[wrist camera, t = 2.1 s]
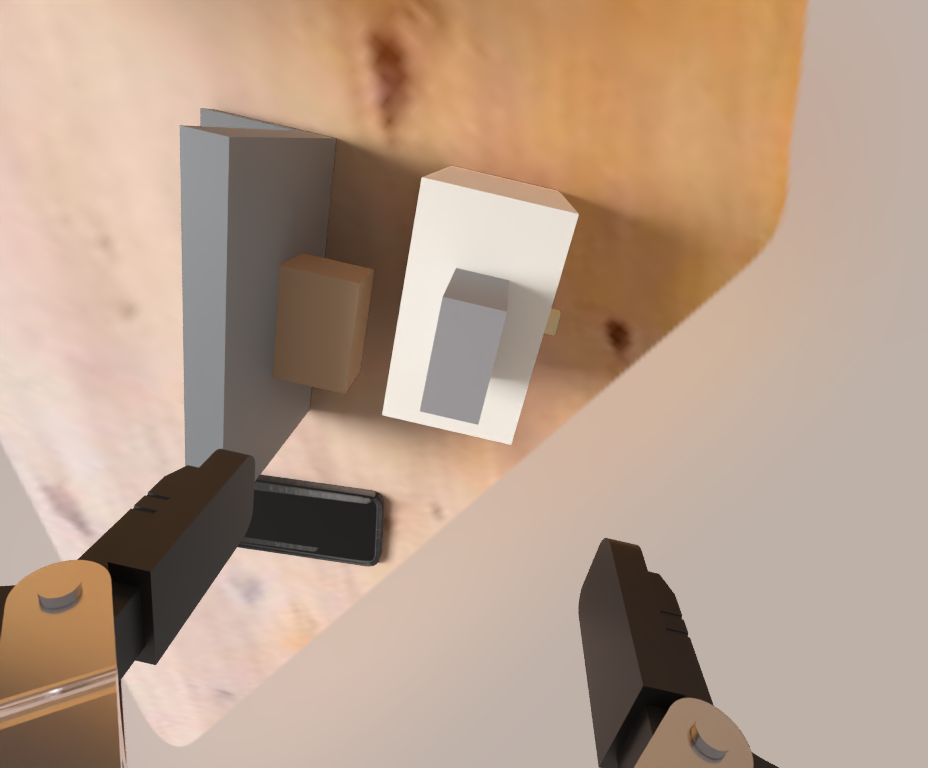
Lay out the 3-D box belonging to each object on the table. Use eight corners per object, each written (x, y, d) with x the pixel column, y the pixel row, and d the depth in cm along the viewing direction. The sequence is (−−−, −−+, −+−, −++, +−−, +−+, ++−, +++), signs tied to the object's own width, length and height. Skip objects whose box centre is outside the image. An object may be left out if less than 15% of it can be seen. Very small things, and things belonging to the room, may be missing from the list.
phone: (207, 472, 45) (382, 498, 44) (214, 465, 46) (385, 490, 45) (216, 544, 48) (379, 569, 48) (222, 536, 49) (381, 560, 49)
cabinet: (419, 338, 39) (356, 467, 24) (451, 165, 34) (398, 185, 18) (525, 363, 39) (532, 508, 24) (573, 194, 34) (622, 238, 19)
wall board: (211, 386, 42) (80, 492, 29) (213, 109, 34) (30, 90, 21) (365, 422, 42) (300, 543, 30) (405, 154, 34) (340, 163, 21)
